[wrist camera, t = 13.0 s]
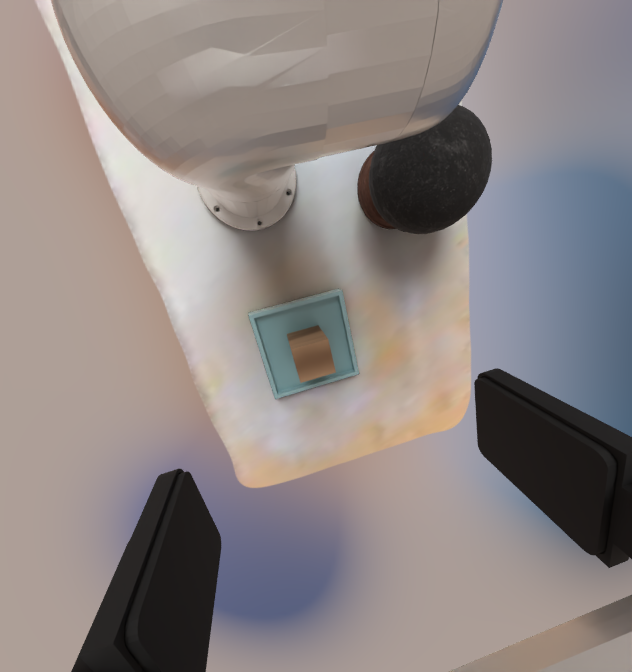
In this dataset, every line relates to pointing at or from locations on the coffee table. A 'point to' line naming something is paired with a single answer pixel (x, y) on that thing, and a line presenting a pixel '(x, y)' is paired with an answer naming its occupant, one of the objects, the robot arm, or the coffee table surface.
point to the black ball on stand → (427, 175)
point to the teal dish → (298, 316)
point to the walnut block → (311, 353)
